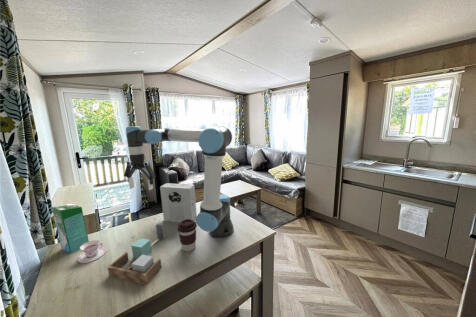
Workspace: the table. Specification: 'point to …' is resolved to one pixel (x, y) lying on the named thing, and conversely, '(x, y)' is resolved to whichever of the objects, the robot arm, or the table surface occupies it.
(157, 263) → the wooden tray
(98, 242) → the teacup
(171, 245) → the table surface
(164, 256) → the table surface
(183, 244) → the coffee cup
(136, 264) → the slate block
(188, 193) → the cereal box
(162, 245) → the table surface
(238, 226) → the table surface
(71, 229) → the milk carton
